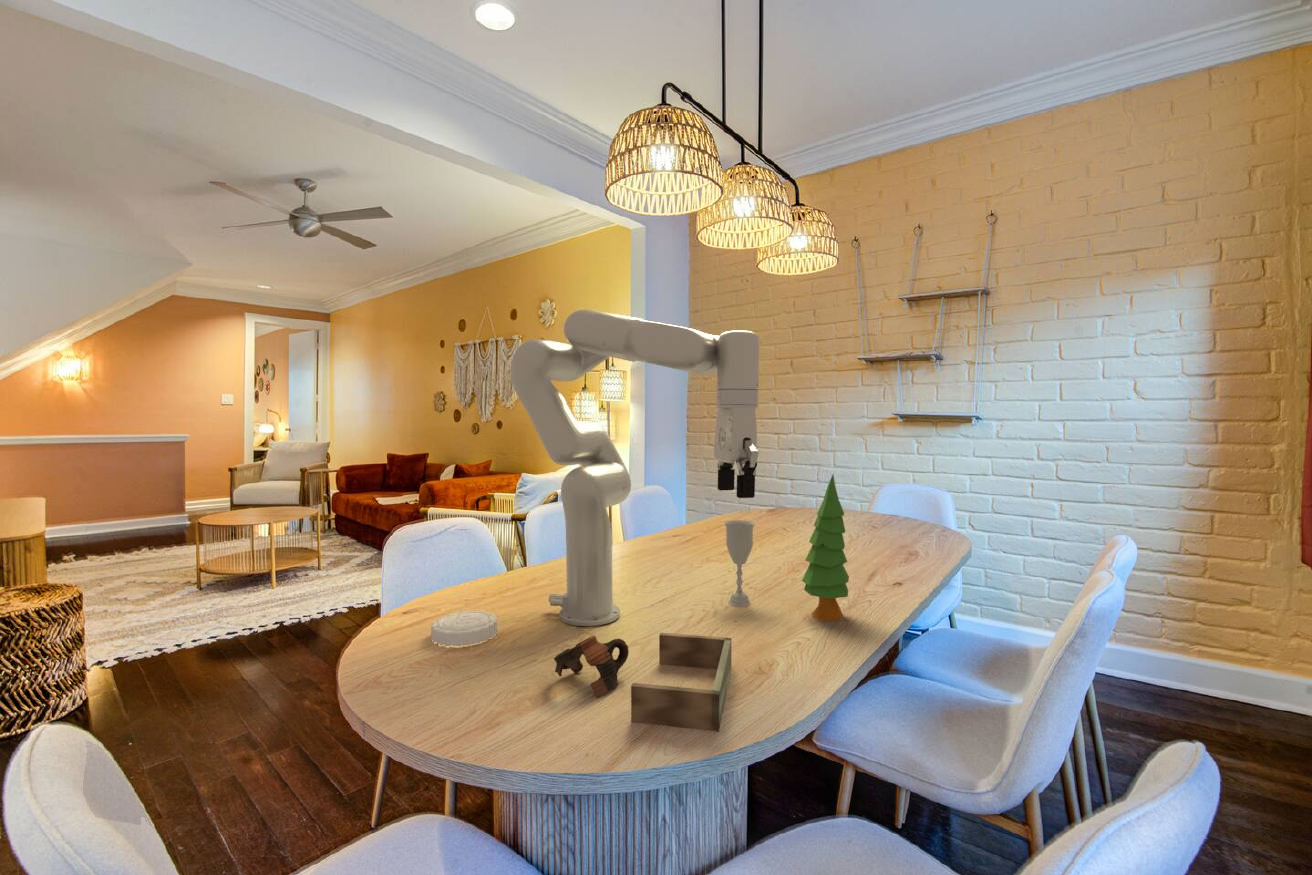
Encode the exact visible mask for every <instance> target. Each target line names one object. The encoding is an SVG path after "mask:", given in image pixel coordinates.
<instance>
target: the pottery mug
mask: <svg viewBox="0 0 1312 875" xmlns="http://www.w3.org/2000/svg"><path fill="white" fill-rule="evenodd" d="M616 648H618V656H617V657H616V659H614V656H613V653H614V650H615V649H616ZM582 656H584V659H585V661H586V663H587V664H588V665H589V666H590V667H595V668H596V670H597V671H598V673H599V676H600V677H599V678H598V679H596V680H595V681H593V682H592V683H590V688H591V690H592V693H593V695H594V698H596V699H597V698H600V697H602V696H603V695H606V694H607V693H608V692H610V691H611V690H614V689H615V688H616V687H618V685H619V683H618V673H619V670H620V669H621V668H623V667H622V666H624V665H625V663H626V662H627V660H628V657H629V646H628V644H627V642H626V641H625V640H623V639H621V638H614V639H612V640H610V641H607V642H604V643H602V642H599V641H598V639H597V636H596V635H591V636H590V637H588V638H585V639H584V640H582V641H579V643H577V644H575V646H574V647H572V648H567V649H565V650H563V651H561V652H560V653H558V654H556V656H555V657H553V660H554V662H555V663H556V664H555V665H556V666H555V670H554V673H556V674H557V675H558V676H559V677H562V675H563V674H562V673H563V670H568V669H570V670H571V671H572V672H573V673H574V674H575V673H577V674H579V672H581V671H582V670H583V667H584V664H582V662H581V657H582Z"/></svg>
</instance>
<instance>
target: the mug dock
mask: <svg viewBox="0 0 1312 875" xmlns="http://www.w3.org/2000/svg"><path fill="white" fill-rule="evenodd" d="M658 638H659V639H658V640H659V646H658V648H659V650H658V651H659V657H658V658H659V659H658V660H659V662H658V663H659V665H667V666H676V667H677V666H678V667H689V668H701V669H709V670H710V669H711V670H716V675H715V677H714V682H713V686H712V689H705V688H704V689H702V688H701V689H700V688H691V687H681V686H672V685H671V686H670V685H660V684H649V683H641V682H640V683H638V682H632V684H631V686H630V706H631V707H630V709H631V710H630V712H631V713H630V716H631V717H630V718H631V719H630V721H631V723H636V724H637V723H638V724H646V725H647V724H648V725H655V726H663V727H664V726H665V727H673V728H683V729H693V730H699V731H700V730H701V731H702V730H703V731H711V732H720V728H721V724H722V719H723V713H724V709H725V703H726V698H727V692H728V688H729V687H728V686H729V682H730V677H731V671H732V637H723V636H722V637H721V636H710V635H709V636H707V635H696V634H683V633H681V634H680V633H670V632H669V633H668V632H660V633H659V637H658Z"/></svg>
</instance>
